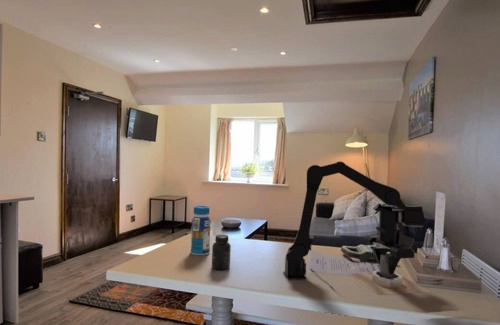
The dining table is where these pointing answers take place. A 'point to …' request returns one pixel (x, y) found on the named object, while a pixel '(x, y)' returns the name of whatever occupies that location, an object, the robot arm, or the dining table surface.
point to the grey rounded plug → (384, 267)
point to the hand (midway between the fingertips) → (386, 271)
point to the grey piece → (360, 253)
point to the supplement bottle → (221, 253)
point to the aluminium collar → (387, 280)
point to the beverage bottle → (200, 231)
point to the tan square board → (382, 290)
